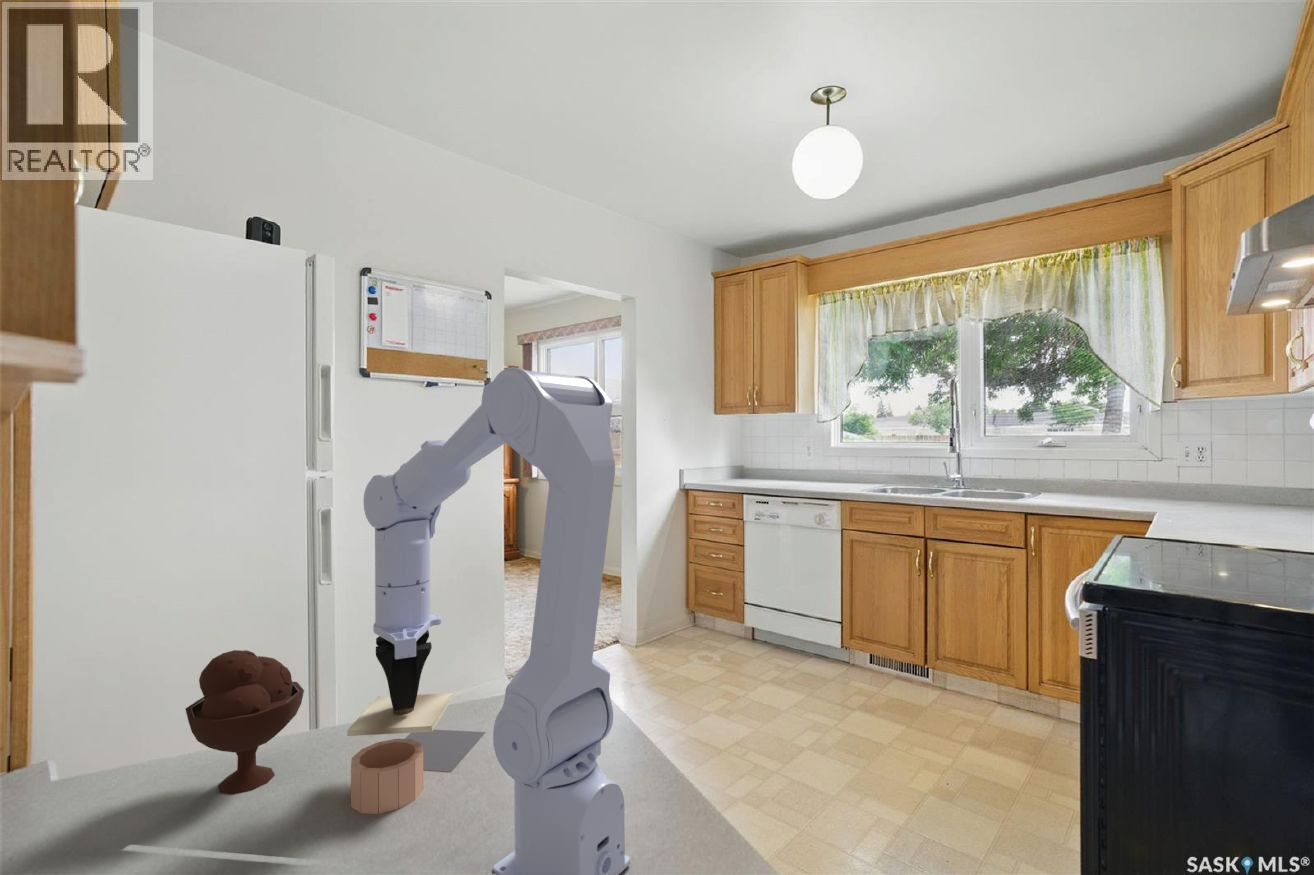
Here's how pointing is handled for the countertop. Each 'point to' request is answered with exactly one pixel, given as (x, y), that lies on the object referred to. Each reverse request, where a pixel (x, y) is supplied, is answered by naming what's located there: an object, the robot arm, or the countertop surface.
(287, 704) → the ice cream bowl
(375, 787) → the bowl
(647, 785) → the countertop surface
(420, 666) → the robot arm
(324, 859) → the countertop surface
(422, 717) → the cover
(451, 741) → the mat
